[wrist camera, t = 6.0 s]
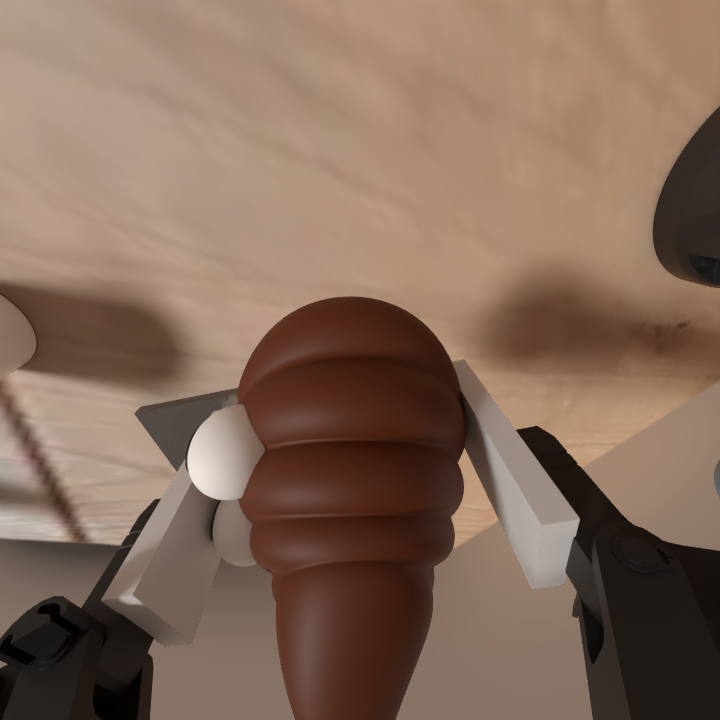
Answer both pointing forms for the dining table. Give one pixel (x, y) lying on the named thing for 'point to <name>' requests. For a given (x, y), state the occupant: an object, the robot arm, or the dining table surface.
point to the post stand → (181, 421)
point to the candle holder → (14, 338)
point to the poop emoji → (340, 495)
